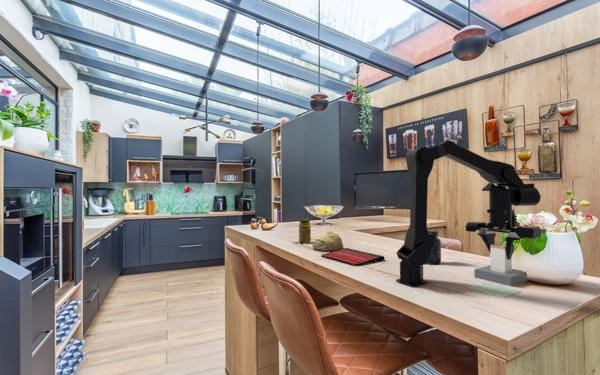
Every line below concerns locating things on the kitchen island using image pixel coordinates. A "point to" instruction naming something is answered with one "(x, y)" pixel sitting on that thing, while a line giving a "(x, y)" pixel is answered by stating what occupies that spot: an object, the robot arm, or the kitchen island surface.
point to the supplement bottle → (435, 250)
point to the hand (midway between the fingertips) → (501, 258)
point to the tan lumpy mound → (328, 242)
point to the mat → (494, 289)
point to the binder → (353, 257)
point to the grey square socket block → (501, 276)
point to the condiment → (304, 232)
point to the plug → (500, 259)
